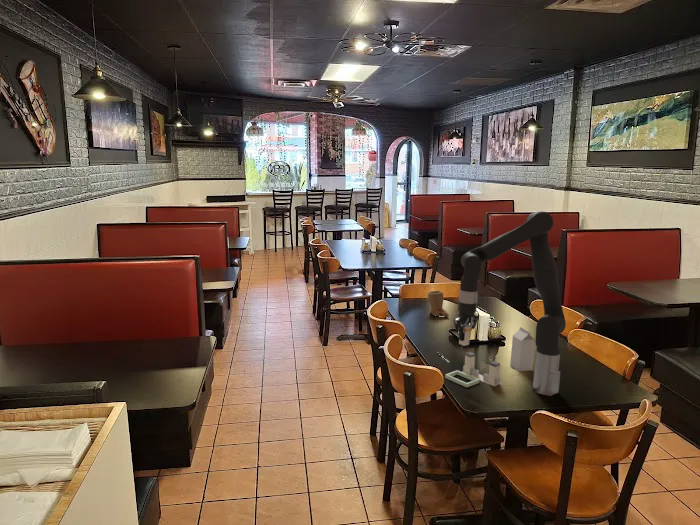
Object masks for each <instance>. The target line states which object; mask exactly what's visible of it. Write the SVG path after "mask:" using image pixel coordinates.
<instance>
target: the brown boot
mask: <svg viewBox="0 0 700 525" xmlns="http://www.w3.org/2000/svg"><path fill="white" fill-rule="evenodd" d="M427 298H428V302H429V304H430V310H429V312H430V313H431V314H432V315H433V316H434V315H436V316H446V317H445V318H448V317H450V315H449V313H448V312H447V311H446V310H445V309H444V308H443V304H444V292H443V291H441V290H432V291H428V293H427ZM436 316H435V317H436Z"/></svg>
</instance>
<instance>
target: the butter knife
mask: <svg viewBox="0 0 700 525" xmlns="http://www.w3.org/2000/svg"><path fill="white" fill-rule="evenodd" d="M440 354H441V353H440ZM440 354H439V355H440ZM441 357H442V358H441ZM441 357H440V358H441V359H443V358H444V357H445V356H444V355H442V356H441ZM445 358H446V357H445ZM445 358H444V359H445ZM444 359H443V360H444ZM445 360H446V363H450V360H448V359H447V358H446V359H445ZM445 360H444V361H445Z"/></svg>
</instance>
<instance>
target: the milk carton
mask: <svg viewBox="0 0 700 525" xmlns="http://www.w3.org/2000/svg"><path fill="white" fill-rule="evenodd" d="M531 334H532V333H531V332H530V331H529V330H527V329H525V328H523V327H521V326H519V329H518V330H517V331H516V332H515V333H514V334H513V335H512V338H511V339H512V340H511V341H512V342H511V349H510V350H511V353H510V364H509V366H510V367H511V368H513V369H514V370H516V371H518V372H528V371H533V366H534V364H533V363H534V353H535V345H536V338H534V337H533V336H532V335H531Z"/></svg>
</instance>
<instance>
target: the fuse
mask: <svg viewBox="0 0 700 525" xmlns="http://www.w3.org/2000/svg"><path fill="white" fill-rule="evenodd" d="M462 325H464V324H462ZM470 329H471V327H470V324H467V327H466V328H465V332H464V333H465V337H464V341H461V340H459V339H458V344H459V345H461V346H463V347H465V346H468V345H470V339H471V335H470ZM462 330H463V327H462Z"/></svg>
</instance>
